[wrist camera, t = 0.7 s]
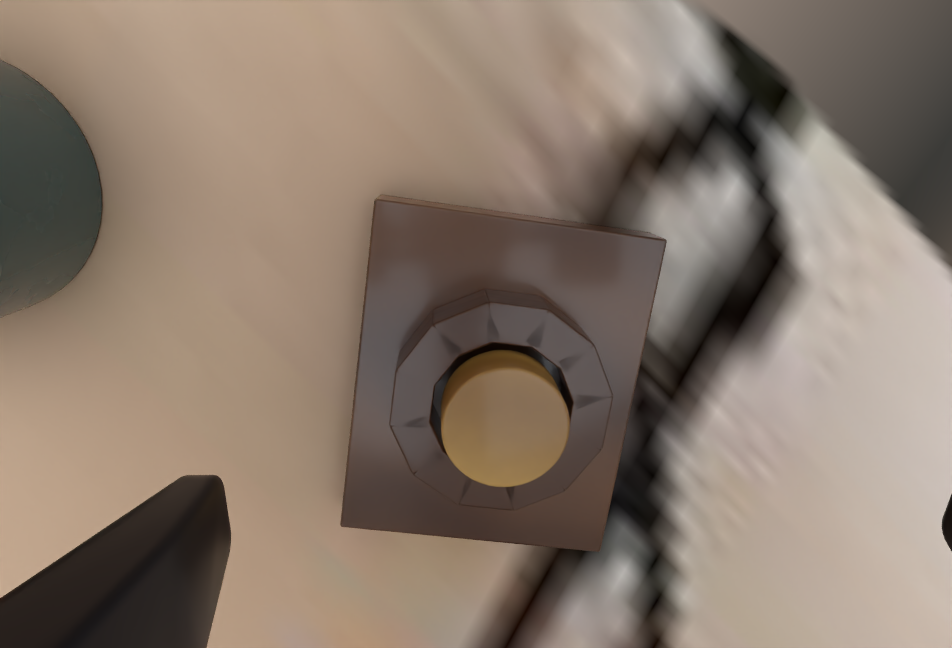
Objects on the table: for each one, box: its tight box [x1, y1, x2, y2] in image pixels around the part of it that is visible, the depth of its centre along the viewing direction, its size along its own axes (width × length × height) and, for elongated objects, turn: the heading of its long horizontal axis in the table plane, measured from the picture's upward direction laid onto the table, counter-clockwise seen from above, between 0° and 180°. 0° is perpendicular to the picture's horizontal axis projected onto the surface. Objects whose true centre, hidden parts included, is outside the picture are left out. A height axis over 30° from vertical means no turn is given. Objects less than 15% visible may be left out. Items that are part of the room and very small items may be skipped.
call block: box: [341, 195, 666, 552], centre depth 22 cm, size 11×9×4 cm
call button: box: [441, 350, 570, 487], centre depth 20 cm, size 4×4×2 cm
